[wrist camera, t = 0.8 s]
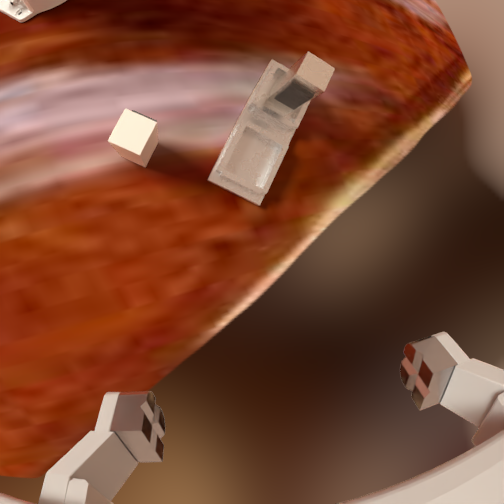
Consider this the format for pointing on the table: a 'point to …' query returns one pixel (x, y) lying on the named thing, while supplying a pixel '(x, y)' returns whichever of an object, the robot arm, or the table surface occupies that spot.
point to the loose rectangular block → (135, 137)
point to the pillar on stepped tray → (268, 126)
